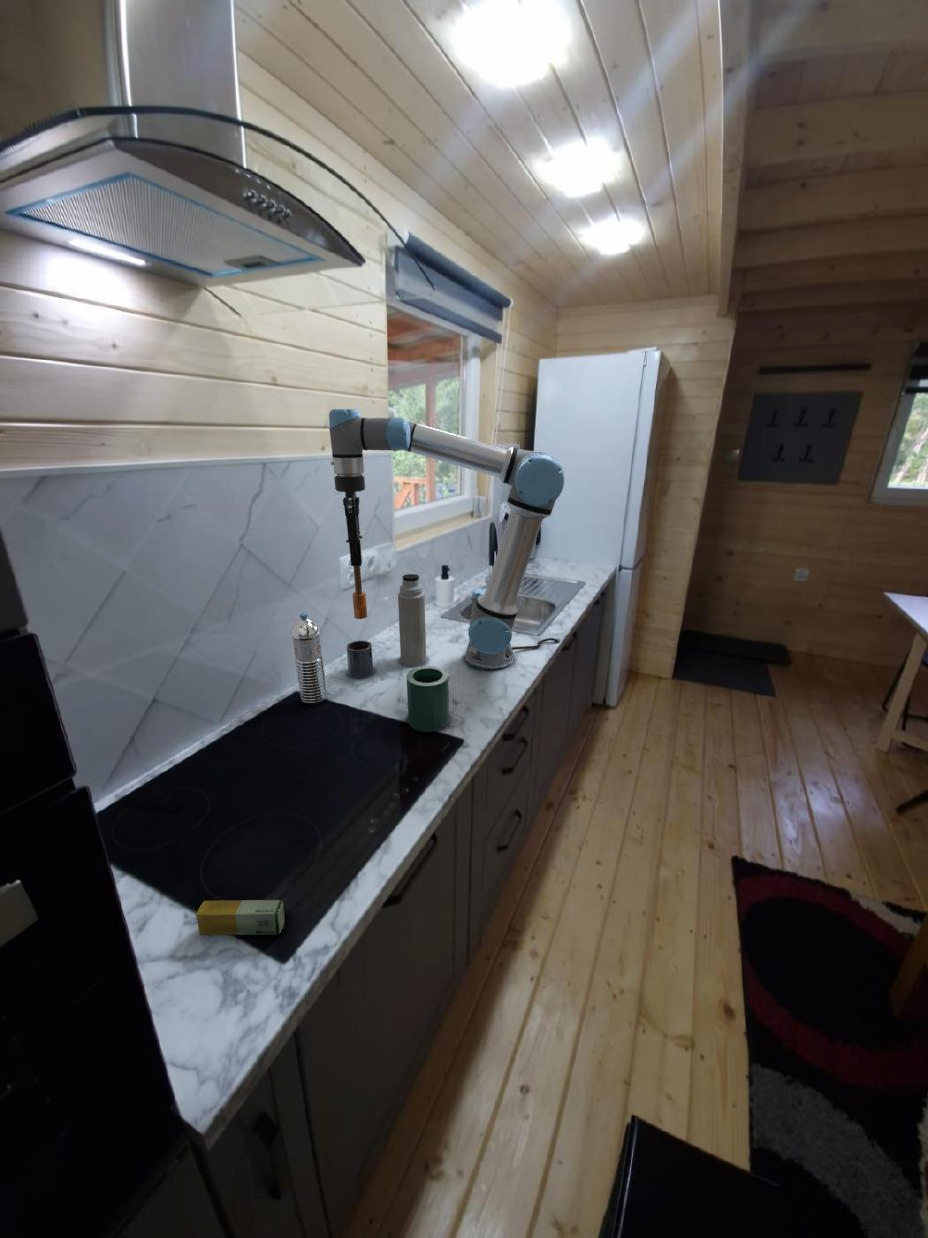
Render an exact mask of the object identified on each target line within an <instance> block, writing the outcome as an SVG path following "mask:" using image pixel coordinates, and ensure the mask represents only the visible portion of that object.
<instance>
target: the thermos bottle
mask: <svg viewBox="0 0 928 1238" xmlns="http://www.w3.org/2000/svg"><path fill="white" fill-rule="evenodd" d="M419 579H420V575H419V574H416V573H407V574H403V575H402V584H401V585H400V586H399V592H398V593H397V603H398V628H399V629H398V631H399V651H400V663H401V664H403V665H404V666H407V667H419V666H423V664H425V663H426V661H427V639H426V637H427V636H426V598H425V597H426V596H425V595H426V594H425V592H424V591H423V586H422V585H421V584H420V580H419Z"/></svg>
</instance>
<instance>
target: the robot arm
mask: <svg viewBox="0 0 928 1238" xmlns="http://www.w3.org/2000/svg"><path fill="white" fill-rule="evenodd" d="M328 423H329V424H328V425H329V426H328V427H329V428H328V431H329V438H330V447H331V456H332V460H331V461H330V465H331V466H333V473H334V474H335V476H334V477H333V480H334V489H335V491H336V492H340V493H345V494H344V495H345V496H344V497H343V499H342V505H343V509H344V516H345V520H346V530H347V539H346V540H345V542H346V543H348V545H349V557H350V566H351V567H353V566H360V567H362V564H363V558H362V557H363V556H362V545H361V540H362V539H363V535H361V530H360V516H359V515H360V503H361V501H360V496H357V493H358V492H364V491H365V489H366V481H365V480H366V479H365V476H364V473H365V463H364V455H363V452H364V451H392V452H399V451H404V452H408V453H411V454H412V453H413V454H417V455H418V456H419V455H420V456H423V457H425V458H426V457H427V458H430V459H433V460H436V461H439V462H444V463H446V464H450V465H453V466H458V467H459V468H460V467H461V468H464V469H468V470H471V471H475V472H478V473H481V474H485V475H488V476H493V477H495V478H498V479H499V480H500V482H501V484H506V485H509V486H511V488H510V491H509V494H508V497H507V501H506V503H507V506H508V507H509V509H510V510H509V514H508V518H507V521H506V524H505V528H504V531H503V534H502V537H501V540H500V544H499V546H498V550H497V553H496V557H495V560H494V563H493V567H492V569H491V573H490V576H489V579H488V581H487V586H486V587H485V588H484V587H483V588H478V589H475V590H473V592H472V594H471V598H470V599H471V611H470V612H471V613H470V619H469V620H470V621H469V627H468V631H467V633H468V634H467V635H468V639H469V640H468V644H467V647H466V649H465V656H464V657H465V658H464V659H465V661H466V663H467V664H469V665H470V666H472V667H474V668H477V669H482V670H499V669H504V668H506V667H509V666H510V665H511V664H512V663H513V662H514V651H516V650H527V649H538V648H540V646H541V644H542V643H545V642H548V641H553V642H555V643H560V640H558V639H556V638H554V637H548V638H543V639H541V640H539V641H537V645H526V646H525V645H524V646H513V647H512V644H511V642H512V639H513V633H512V631H513V627H514V623H515V622H516V618H517V616H518V612H519V609H518V607H517V605H516V601H517V597H518V595H519V592H520V589H521V585H522V583H523V580H524V577H525V574H526V571H527V568H528V565H529V562H530V559H531V556H532V554H533V550H534V547H535V545H536V542H537V538H538V536H539V532H540V529H541V526H542V523H543V521H544V520H545V519H546V518H548V517H550V516H551V515H552V512H553V509H554V506H555V504H556V501H557V499H558V498H559V497H560V496H561V494H562V492H563V489H564V486H565V473H564V470H563V467H562V466H561V463H560V462H559V460H557V459H556V458H554V457H553V456H551V455H549V454H548V453H546V452H542V451H537V450H527V449H521V448H517V447H514V446H510V447H509V448H503V447H500V446H496V445H492V444H489V443H486V442H481V441H479V440H476V439H471V438H468V437H464V436H462V435H457V434H454V433H450V432H447V431H444V430H440V429H436V428H434V427H430V426H427V425H423V424H420V423H415V422H413V421H410V420H408V419H406V418H405V417H397V416H394V417H361V411H360V410H359V409H356V408H333V409H331V410H330V411H329V413H328Z"/></svg>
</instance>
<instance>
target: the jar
mask: <svg viewBox="0 0 928 1238" xmlns="http://www.w3.org/2000/svg"><path fill="white" fill-rule="evenodd" d="M405 676H406V694H407V695H406V696H407V697H406V698H407V720H408V721H407V722H408V725H409V726H410V727H411V728H412V729H413V730H415V731H418V732H421V733H433V732H438V731H440V730H442V729H445V728H446V727H447V725H448V724H449V720H450V680H449V679H450V676H449V672H448V671H447V670H446V669H445V668H442V667H440V666H436V665H420V666H416V667H414V668H412V669H410V670H409V671H408V672H407V673H406V675H405Z"/></svg>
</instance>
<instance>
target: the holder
mask: <svg viewBox="0 0 928 1238" xmlns="http://www.w3.org/2000/svg"><path fill="white" fill-rule="evenodd" d="M373 657H374V656H373V644H372V642H370V641H367V640H354V641H351V642H349V643H348V644H346V658H347V669H348V675H349V677H351V678H354V679H366V678H369V677H371V676H372V675H373V674H374V658H373Z"/></svg>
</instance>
